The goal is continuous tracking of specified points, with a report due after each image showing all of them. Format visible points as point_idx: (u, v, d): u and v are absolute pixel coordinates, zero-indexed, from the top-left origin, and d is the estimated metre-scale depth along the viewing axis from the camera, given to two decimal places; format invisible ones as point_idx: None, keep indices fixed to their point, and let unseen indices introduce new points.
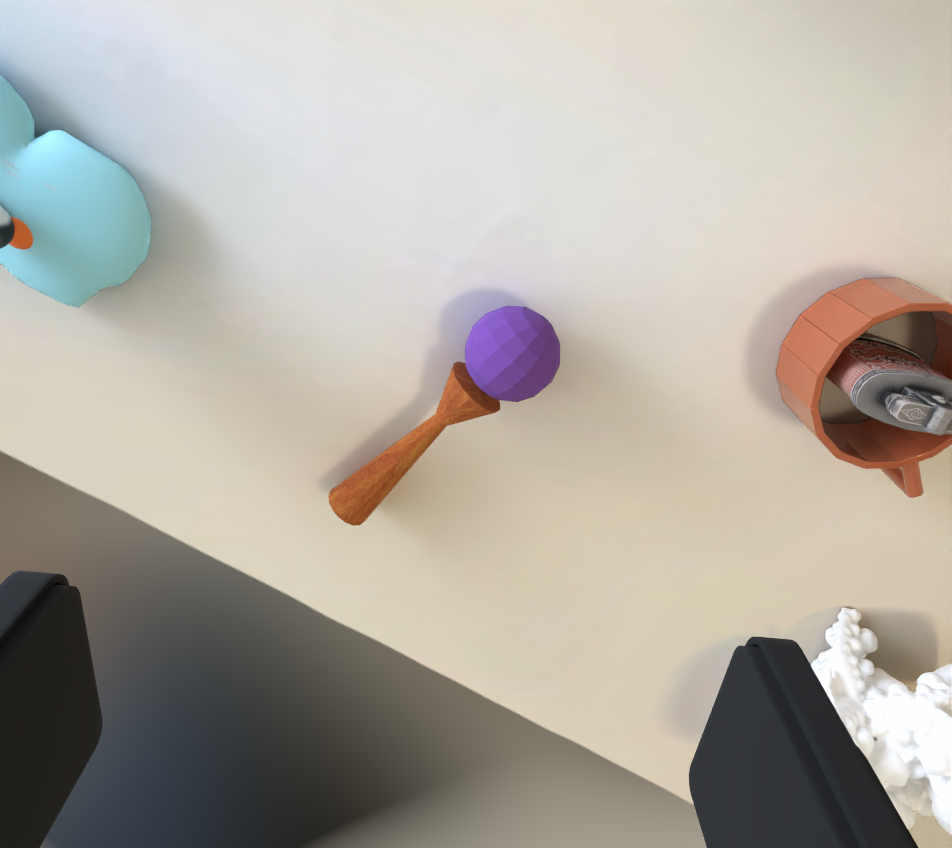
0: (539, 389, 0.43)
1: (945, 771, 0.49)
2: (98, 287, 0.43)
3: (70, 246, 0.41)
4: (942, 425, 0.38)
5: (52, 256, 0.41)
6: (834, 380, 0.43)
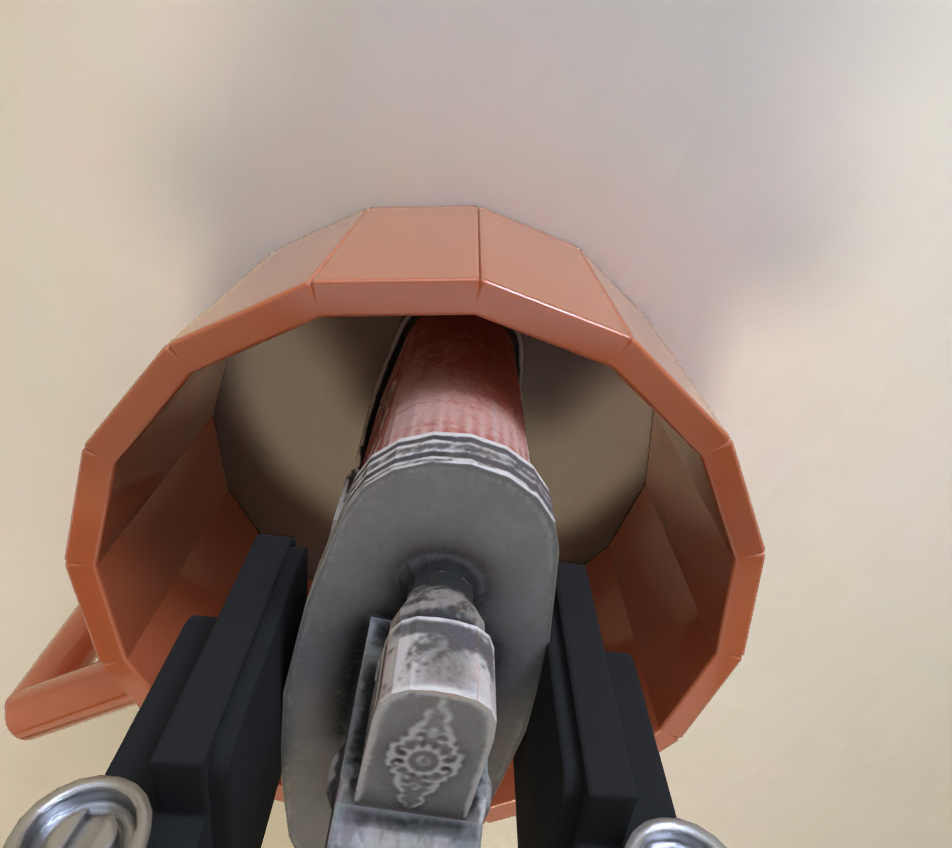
0: None
1: None
2: None
3: None
4: None
5: None
6: (423, 372, 0.11)
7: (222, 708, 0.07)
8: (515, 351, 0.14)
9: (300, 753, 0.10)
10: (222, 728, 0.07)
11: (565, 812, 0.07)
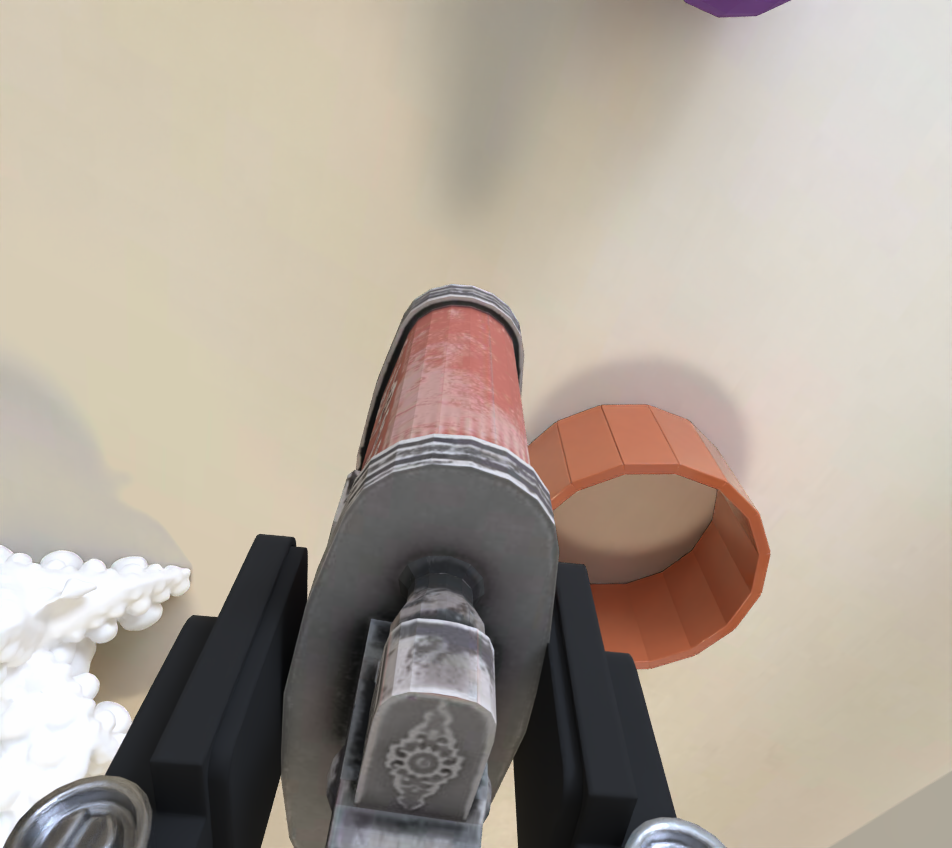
0: None
1: None
2: None
3: None
4: None
5: None
6: (423, 374, 0.11)
7: (222, 708, 0.07)
8: (515, 352, 0.14)
9: (300, 754, 0.10)
10: (222, 728, 0.07)
11: (565, 812, 0.07)
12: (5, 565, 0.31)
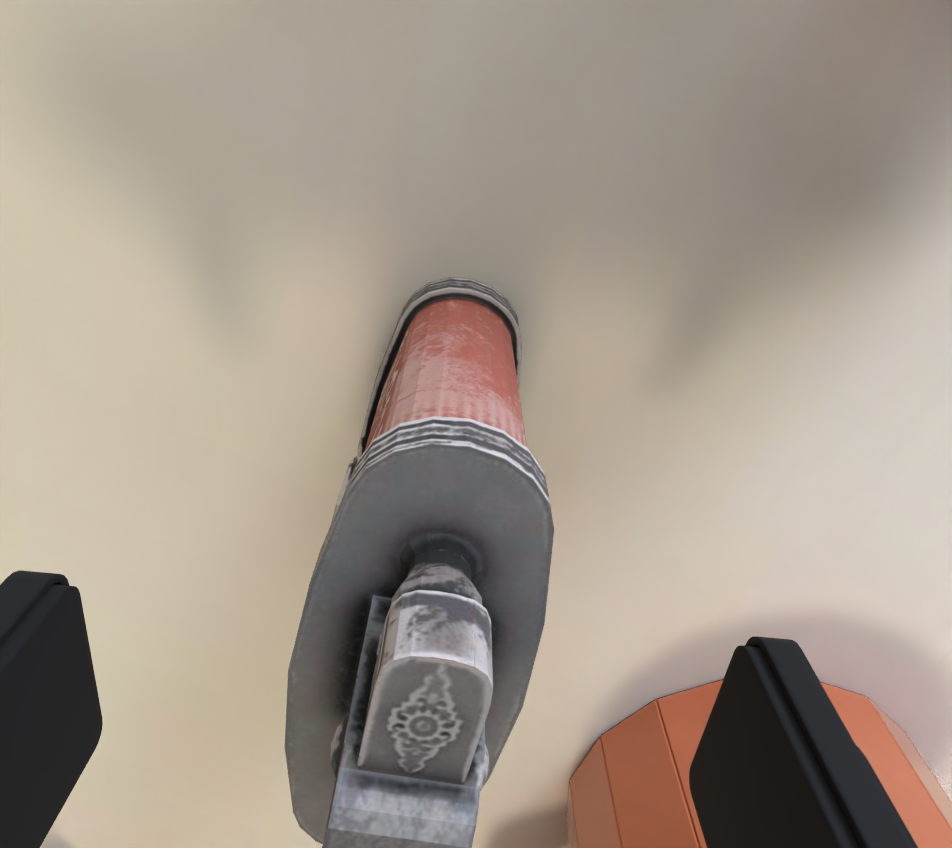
0: None
1: None
2: None
3: None
4: None
5: None
6: (423, 362, 0.11)
7: None
8: (513, 344, 0.15)
9: (304, 729, 0.10)
10: None
11: None
12: None
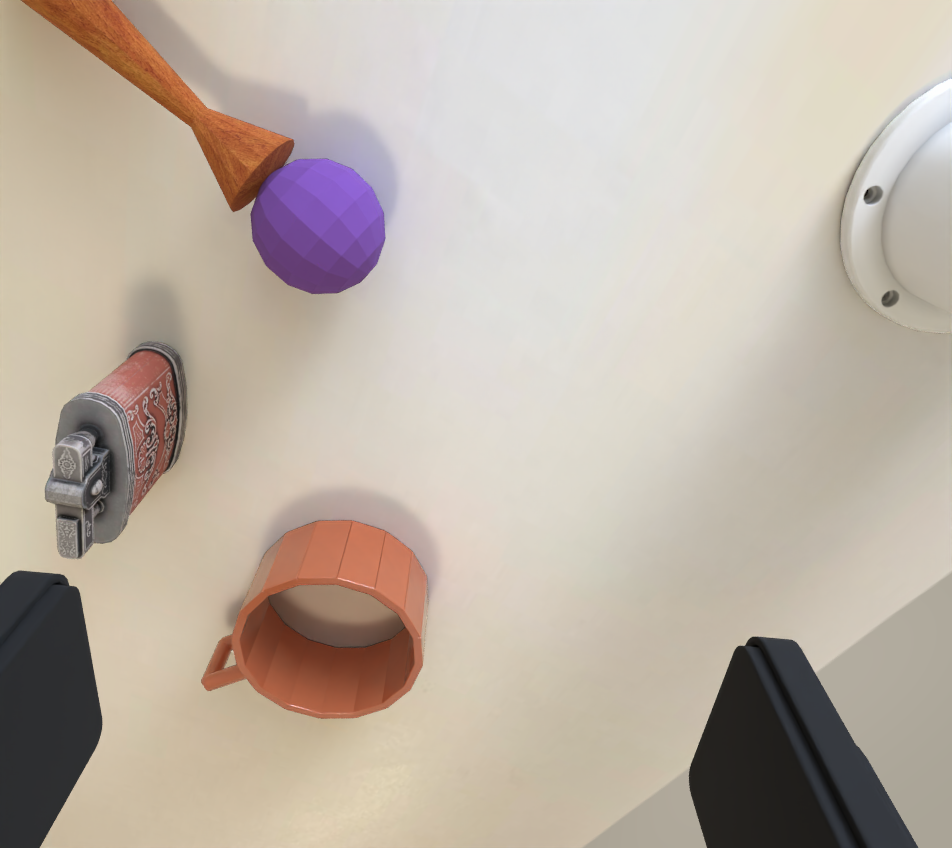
0: (278, 273, 0.31)
1: None
2: None
3: None
4: (59, 497, 0.30)
5: None
6: (108, 375, 0.34)
7: None
8: (172, 367, 0.37)
9: None
10: None
11: None
12: None
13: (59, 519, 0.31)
